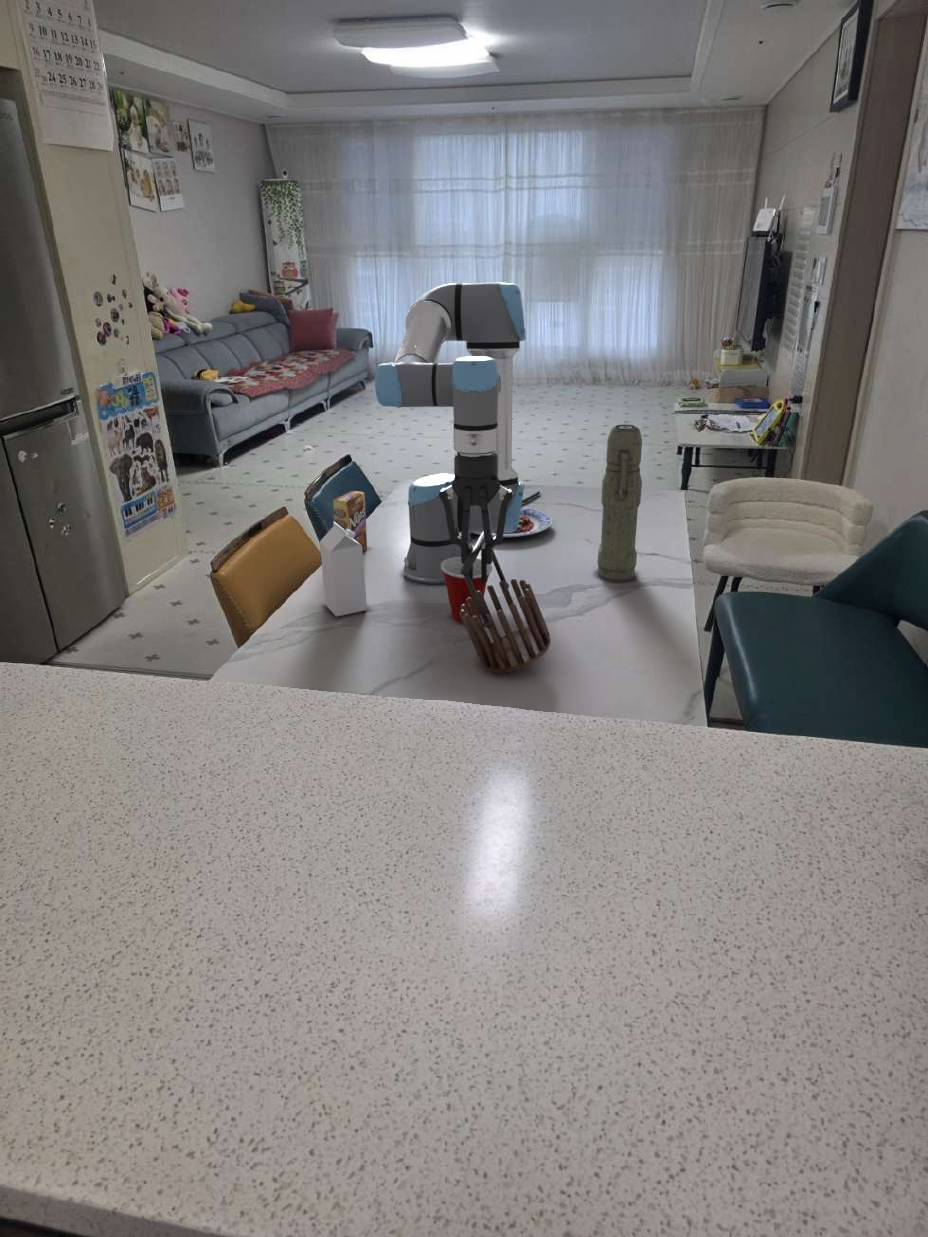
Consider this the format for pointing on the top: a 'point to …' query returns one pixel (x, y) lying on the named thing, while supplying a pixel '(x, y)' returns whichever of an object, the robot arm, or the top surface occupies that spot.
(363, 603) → the milk carton
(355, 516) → the candy box
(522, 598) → the basket
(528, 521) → the ceramic plate
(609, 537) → the thermos
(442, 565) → the plastic cup
